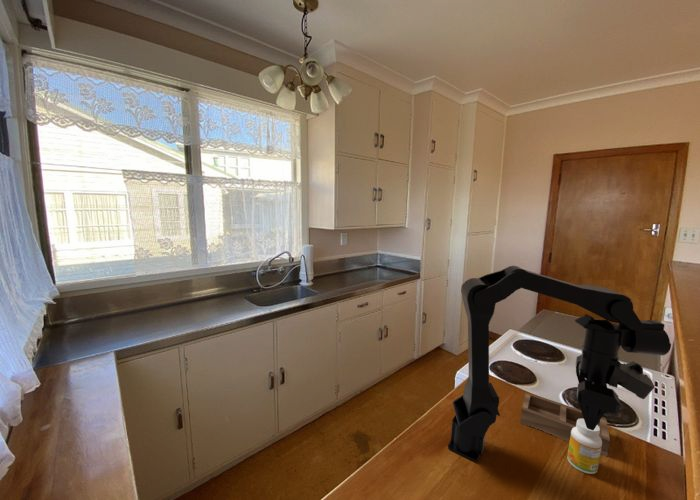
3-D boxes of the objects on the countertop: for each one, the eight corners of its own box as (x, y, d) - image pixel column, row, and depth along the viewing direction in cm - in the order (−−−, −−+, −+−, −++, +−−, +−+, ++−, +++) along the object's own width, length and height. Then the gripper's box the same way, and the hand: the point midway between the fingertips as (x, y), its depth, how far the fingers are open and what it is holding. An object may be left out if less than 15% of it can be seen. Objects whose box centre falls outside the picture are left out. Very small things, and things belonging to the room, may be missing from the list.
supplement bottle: (565, 450, 71) (571, 412, 70) (595, 461, 68) (601, 422, 67) (568, 467, 66) (574, 427, 65) (599, 479, 64) (606, 437, 62)
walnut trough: (607, 456, 70) (609, 440, 69) (520, 422, 80) (521, 409, 79) (603, 432, 77) (606, 418, 77) (524, 404, 87) (526, 391, 87)
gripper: (666, 383, 51) (649, 465, 54) (644, 344, 66) (631, 409, 69) (583, 361, 58) (571, 435, 60) (580, 330, 73) (571, 391, 75)
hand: (588, 416), depth 66 cm, fingers open, 9 cm apart
